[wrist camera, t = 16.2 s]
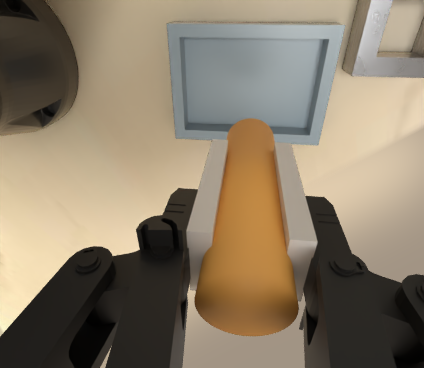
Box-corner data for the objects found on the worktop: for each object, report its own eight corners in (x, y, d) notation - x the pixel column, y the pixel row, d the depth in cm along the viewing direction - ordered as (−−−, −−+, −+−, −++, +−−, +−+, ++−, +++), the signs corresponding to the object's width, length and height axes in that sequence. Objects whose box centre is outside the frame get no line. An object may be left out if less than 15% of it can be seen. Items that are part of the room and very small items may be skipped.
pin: (226, 160, 18) (196, 330, 9) (227, 117, 16) (192, 267, 7) (271, 162, 17) (290, 341, 8) (276, 119, 16) (307, 278, 7)
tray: (180, 129, 31) (175, 138, 29) (173, 21, 26) (166, 23, 24) (313, 135, 30) (318, 145, 28) (337, 22, 24) (345, 25, 22)
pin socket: (342, 68, 26) (351, 76, 24) (364, -25, 22) (378, -28, 20) (422, 70, 26) (441, 78, 23) (459, -26, 22) (486, -29, 19)
